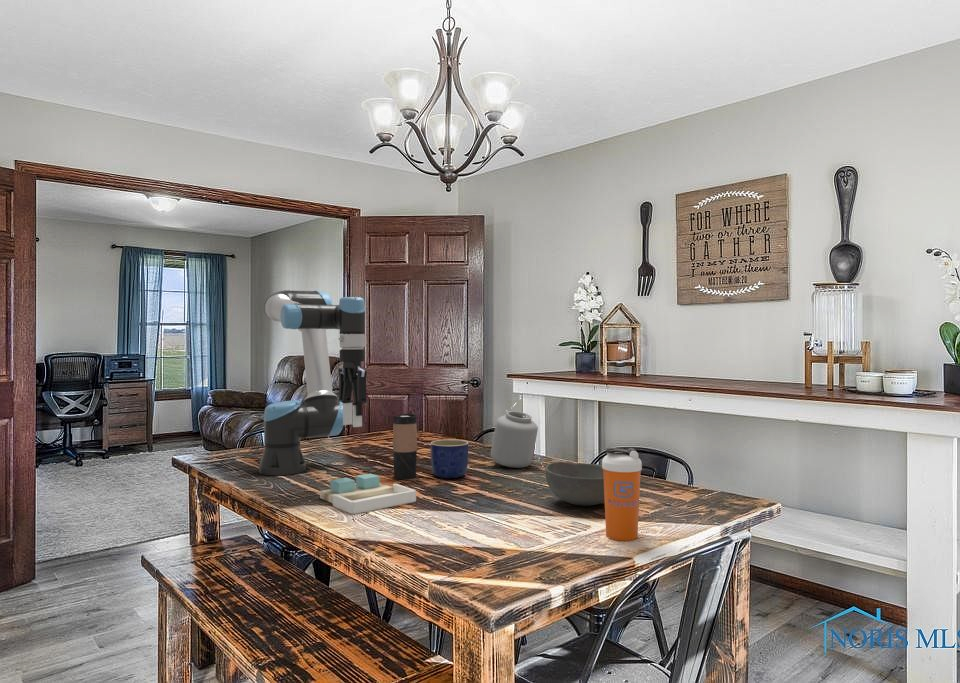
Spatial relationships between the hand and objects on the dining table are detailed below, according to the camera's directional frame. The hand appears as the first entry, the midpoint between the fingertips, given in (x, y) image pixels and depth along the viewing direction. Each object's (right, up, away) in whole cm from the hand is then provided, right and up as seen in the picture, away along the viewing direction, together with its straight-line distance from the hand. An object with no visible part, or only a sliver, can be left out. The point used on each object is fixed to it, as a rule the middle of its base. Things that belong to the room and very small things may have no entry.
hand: (352, 425), depth 193 cm
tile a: (+6, -17, -7) cm, 19 cm away
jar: (+51, -19, +31) cm, 63 cm away
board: (+3, -19, -10) cm, 22 cm away
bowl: (+66, -19, -19) cm, 72 cm away
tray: (+10, -19, -18) cm, 28 cm away
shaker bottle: (+71, -19, -46) cm, 87 cm away
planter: (+28, -19, +16) cm, 38 cm away
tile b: (0, -17, -12) cm, 21 cm away
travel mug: (+14, -19, +15) cm, 28 cm away
